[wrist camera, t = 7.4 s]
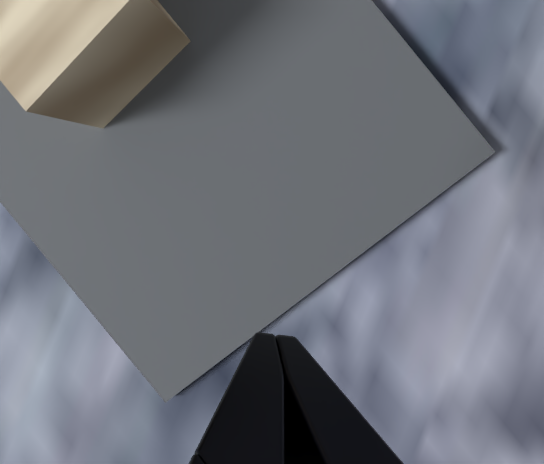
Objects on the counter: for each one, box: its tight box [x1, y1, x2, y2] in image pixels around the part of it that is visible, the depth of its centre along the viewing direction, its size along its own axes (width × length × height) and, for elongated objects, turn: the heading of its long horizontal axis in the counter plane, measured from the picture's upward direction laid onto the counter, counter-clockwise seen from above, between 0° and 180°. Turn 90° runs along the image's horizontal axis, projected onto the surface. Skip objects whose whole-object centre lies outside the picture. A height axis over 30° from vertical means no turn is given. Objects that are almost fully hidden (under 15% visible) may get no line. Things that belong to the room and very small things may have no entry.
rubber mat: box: [0, 0, 495, 403], centre depth 19 cm, size 26×20×1 cm
